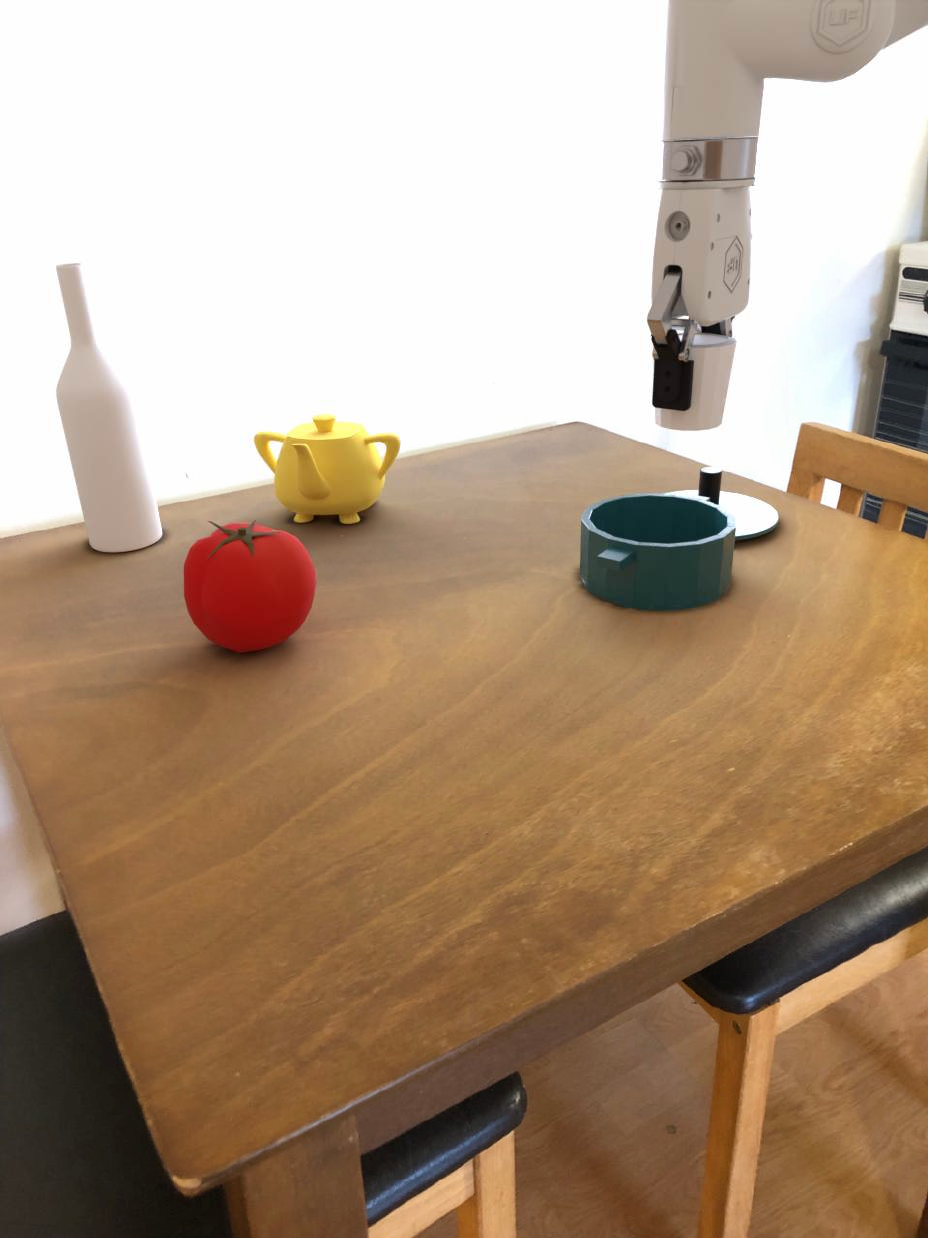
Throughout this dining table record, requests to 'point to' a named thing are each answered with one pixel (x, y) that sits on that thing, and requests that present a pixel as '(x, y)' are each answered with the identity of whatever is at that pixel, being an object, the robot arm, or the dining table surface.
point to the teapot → (328, 467)
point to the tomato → (248, 586)
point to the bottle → (103, 432)
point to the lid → (735, 505)
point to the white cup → (703, 385)
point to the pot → (657, 551)
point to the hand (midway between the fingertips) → (689, 397)
